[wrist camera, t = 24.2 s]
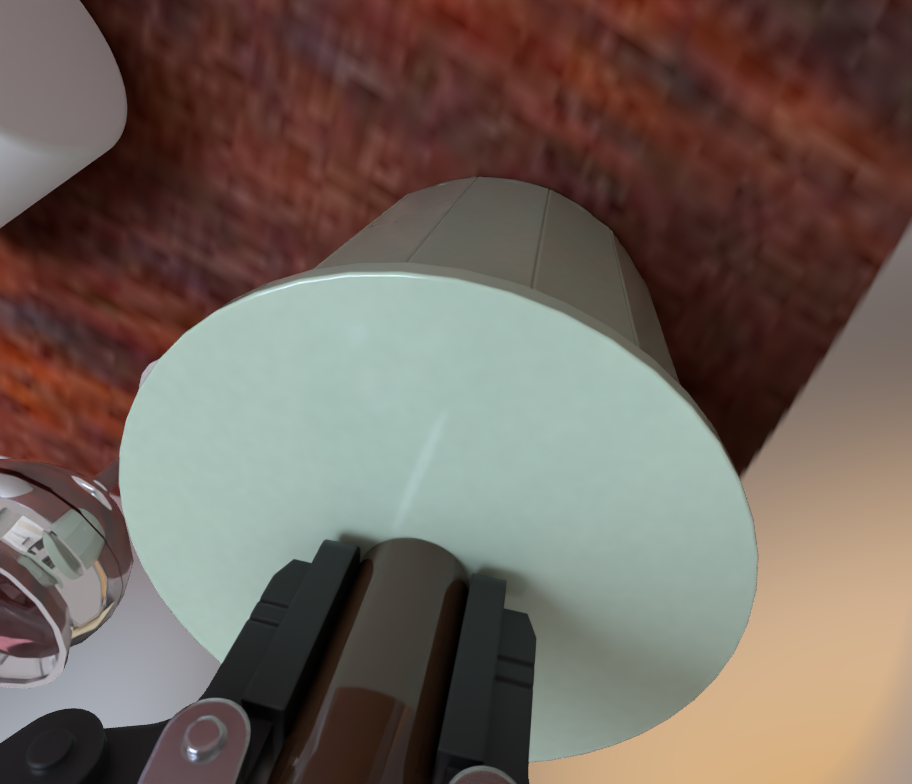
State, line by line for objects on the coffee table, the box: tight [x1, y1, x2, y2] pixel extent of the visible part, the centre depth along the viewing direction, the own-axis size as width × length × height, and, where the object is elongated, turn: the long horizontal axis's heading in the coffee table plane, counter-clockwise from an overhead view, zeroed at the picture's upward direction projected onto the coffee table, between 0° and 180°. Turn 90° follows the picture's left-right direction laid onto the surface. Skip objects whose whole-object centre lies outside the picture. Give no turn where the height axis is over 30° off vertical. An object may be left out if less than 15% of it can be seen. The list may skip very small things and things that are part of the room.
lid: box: [119, 263, 758, 784], centre depth 11 cm, size 13×13×6 cm
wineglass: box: [0, 359, 159, 688], centre depth 22 cm, size 7×7×12 cm
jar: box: [312, 177, 680, 384], centre depth 19 cm, size 12×12×10 cm
